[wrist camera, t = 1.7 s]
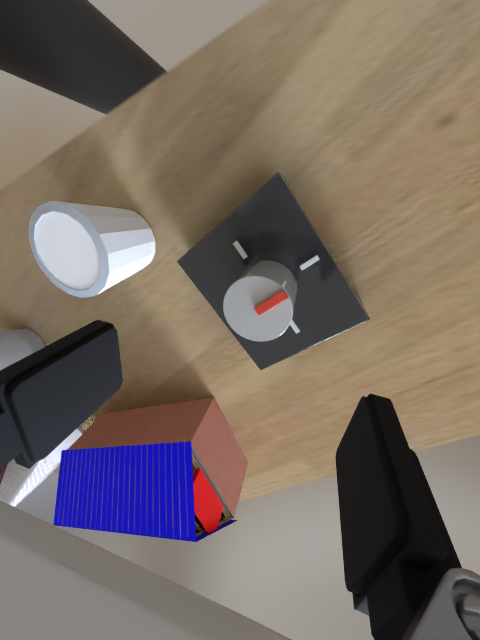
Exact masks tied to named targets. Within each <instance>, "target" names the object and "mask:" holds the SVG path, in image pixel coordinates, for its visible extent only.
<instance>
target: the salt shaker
mask: <svg viewBox="0 0 480 640" xmlns="http://www.w3.org/2000/svg"><path fill="white" fill-rule="evenodd" d="M44 347H45V345H44V343H43V341H42V339H41V337H40V336H39V335H37V334H36V333H34V332H33V331H31V330H30V329H19V330H3V331H0V370H2V369H4V368H6V367H8V366H10V365H11V364H13V363H15V362H17V361H19V360H21V359H23V358H25V357H27V356H29V355H31V354H32V353H34V352H36V351H38V350H40V349H42V348H44Z"/></svg>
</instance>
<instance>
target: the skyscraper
mask: <svg viewBox="0 0 480 640" xmlns="http://www.w3.org/2000/svg"><path fill="white" fill-rule="evenodd" d="M84 432H85V431H84V430H83V429H82V428H81V427H80V426H79V427H78V428H77V429H76V430H75V431H74V432H73V433H71V434H70V435H69V436H68V437H67V438H66V439H65V440H64V441H63V442H62V443H61V444H60V445H59V446H58V447H56V448H55V449H54V450H53V451H52V452H51V453H50V454H49V455H48V456H47V457H45V458H44V459H42V460H39V461H38V462H36V463H35V464H34V465H33V466H32V467H31V468H30V469H28V468H25V467H23V466H21V465H18V464H16V462H15V460H14V459H13V460H12V461H10V462H9V463H8V464H7V468H6V471H5V473H4V476H3V479H2V482H1V485H0V500H1V501H3V502H5V503H7V504H9V505H11V506H14V507H15V506H16V505H17V504H18V503H20V502H21V501H22V500H23V499H24V498H25V497H26V496H27V495H28V494H29V493H31V492H32V491H33V490H34V489H35V488H36V487H37V486H38V485H39V484H40V483H41V482H42V481H43V480H44V479H45V478H46V477H48V476H49V475H50V473H52V472H53V471H54V470H55V469H56V468H57V467H58V466H59V465H60V461H61V452H62V450H66V449H67V448H69V447H70V446H71V445H72V444H73V443H74V442H75V441H76V440H77V439H78V438H79V437H80V436H81V435H82V434H83V433H84Z"/></svg>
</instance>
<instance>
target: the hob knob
mask: <svg viewBox="0 0 480 640" xmlns="http://www.w3.org/2000/svg"><path fill="white" fill-rule="evenodd" d="M296 294H297V284H296V280H295V277H294V276H293V274H292V273H291V271H290V270H289V269H288V268H287V267H285V266H284V265H282V264H281V263H278V262H275V261H261V262H257V263H255V264H253V265H252V266H250V267H249V268H248V269H247V270H246V271H245V272H244V273H243V274H242V275H241V276H240V277H239V278H238V279H237V280H236V281H235V282H234V283H233V284H232V285H231V286H230V287H229V289H228V290H227V292H226V294H225V297H224V301H223V311H224V315H225V318H226V320H227V322H228V324H229V325H230V327H231V328H232V329H233V330H234V331H235V332H236V333H237V334H239V335H240V336H242V337H244V338H246V339H249V340H252V341H269V340H272V339H275V338H277V337H279V336H280V335H281V334H283V333H284V332H285V331H286V330H287V328H288V327H289V325H290V323H291V320H292V316H293V310H294V305H295V300H296Z"/></svg>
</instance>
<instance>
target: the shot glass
mask: <svg viewBox="0 0 480 640" xmlns="http://www.w3.org/2000/svg"><path fill="white" fill-rule="evenodd" d="M28 236H29V240H30V245H31V249H32V253H33V255H34V257H35V259H36V261H37V262H38V264H39V266H40V268H41V270H42V271H43V272H44V273H45V275H46V276H47V277H48V278H49V279H50V280H51V282H52V283H53V284H54V285H56V286H57V287H59V288H60V289H62V290H63V291H64V292H66V293H67V294H70V295H73V296H77V297H80V298H86V297H92V296H96V295H98V294H99V293H101V292H103V291H105V290H106V289H108V288H110V287H112V286H113V285H115V284H117V283H119V282H120V281H122V280H124V279H126V278H127V277H129V276H131V275H133V274H134V273H136V272H138V271H140V270H141V269H143V268H145V267H146V266H147V265H148V264H149V263H151V262H152V259H153V257H154V254H155V238H154V235H153V232H152V229H151V228H150V226H149V225H148V223H147V222H146V221H145V219H144V218H143V217H141V216H140V215H139V214H137V213H136V212H134V211H132V210H127V209H121V208H112V207H103V206H94V205H85V204H76V203H67V202H58V201H50V202H47V203H44V204H41V205H39V206H38V207H37V208H36V210H35V211H34V213H33V214H32V215H31V217H30V222H29V231H28Z"/></svg>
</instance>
